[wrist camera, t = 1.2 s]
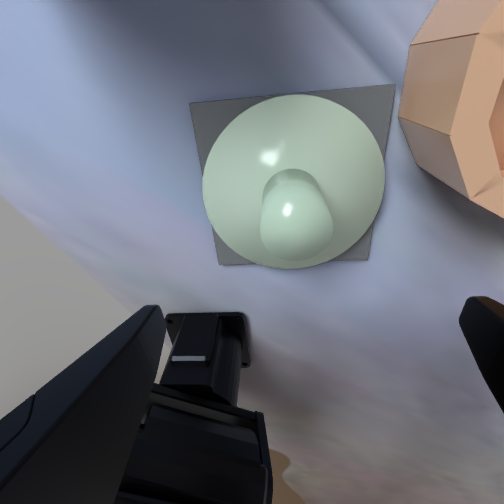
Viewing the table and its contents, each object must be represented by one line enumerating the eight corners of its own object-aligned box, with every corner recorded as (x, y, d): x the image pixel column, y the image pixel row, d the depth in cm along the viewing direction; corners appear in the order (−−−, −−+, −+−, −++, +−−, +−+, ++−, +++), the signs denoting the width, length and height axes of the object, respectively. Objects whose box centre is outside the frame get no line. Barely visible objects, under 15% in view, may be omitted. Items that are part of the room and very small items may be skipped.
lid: (367, 259, 19) (393, 311, 15) (218, 264, 20) (205, 315, 16) (395, 84, 13) (449, 90, 9) (189, 103, 14) (157, 117, 10)
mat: (365, 256, 19) (367, 259, 19) (219, 261, 20) (218, 264, 20) (392, 83, 14) (395, 84, 13) (191, 102, 15) (189, 103, 14)
